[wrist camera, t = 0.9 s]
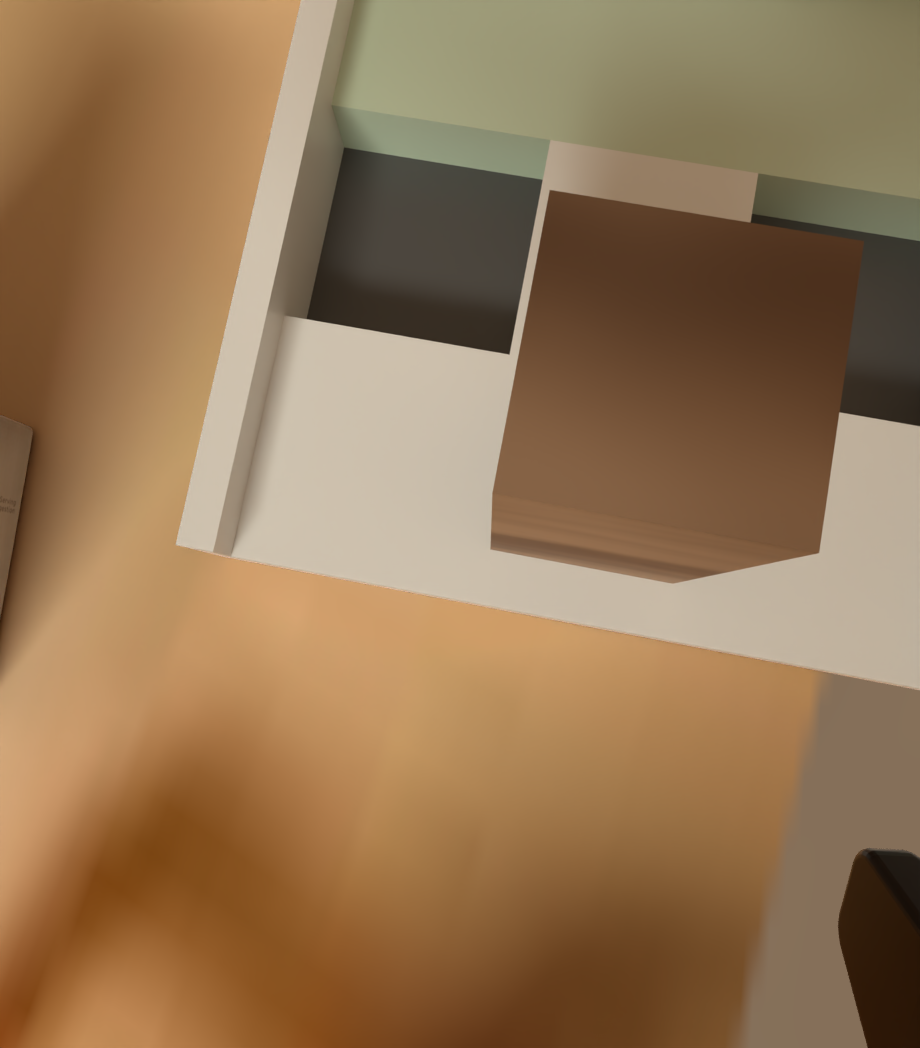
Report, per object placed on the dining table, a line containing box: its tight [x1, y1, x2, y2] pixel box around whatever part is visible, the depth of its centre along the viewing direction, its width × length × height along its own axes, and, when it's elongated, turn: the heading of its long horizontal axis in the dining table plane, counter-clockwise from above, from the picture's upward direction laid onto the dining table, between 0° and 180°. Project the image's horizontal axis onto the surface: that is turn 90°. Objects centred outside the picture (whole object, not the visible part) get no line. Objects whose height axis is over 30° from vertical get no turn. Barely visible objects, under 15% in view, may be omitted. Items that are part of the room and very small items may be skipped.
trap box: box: [176, 0, 920, 690], centre depth 24 cm, size 21×21×4 cm
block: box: [490, 190, 864, 584], centre depth 18 cm, size 5×5×10 cm
